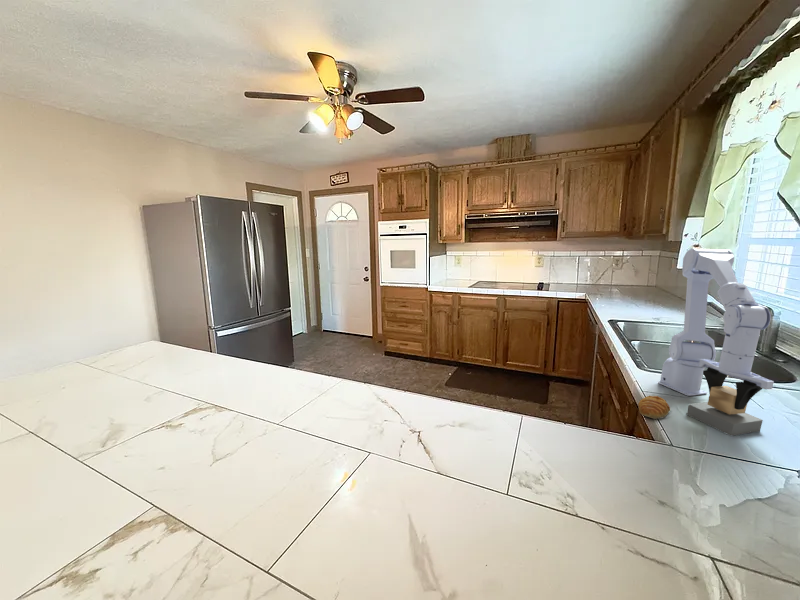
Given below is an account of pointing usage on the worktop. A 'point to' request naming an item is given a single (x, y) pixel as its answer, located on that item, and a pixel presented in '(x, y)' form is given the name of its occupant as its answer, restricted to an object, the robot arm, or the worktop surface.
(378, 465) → the worktop surface
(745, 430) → the gray block
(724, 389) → the oak block
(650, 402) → the pastry
